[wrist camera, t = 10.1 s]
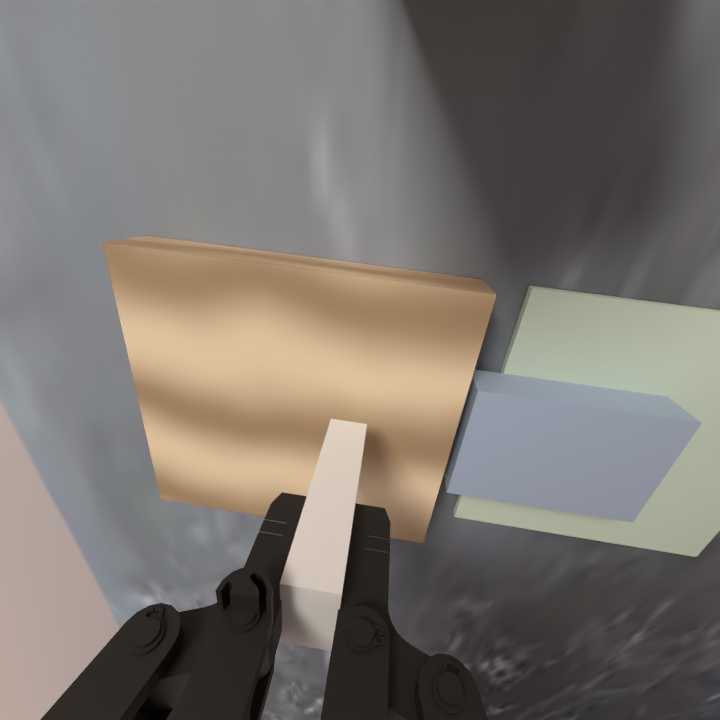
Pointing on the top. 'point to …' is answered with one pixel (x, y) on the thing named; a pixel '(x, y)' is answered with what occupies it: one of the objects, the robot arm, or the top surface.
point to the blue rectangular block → (564, 445)
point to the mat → (629, 373)
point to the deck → (294, 370)
